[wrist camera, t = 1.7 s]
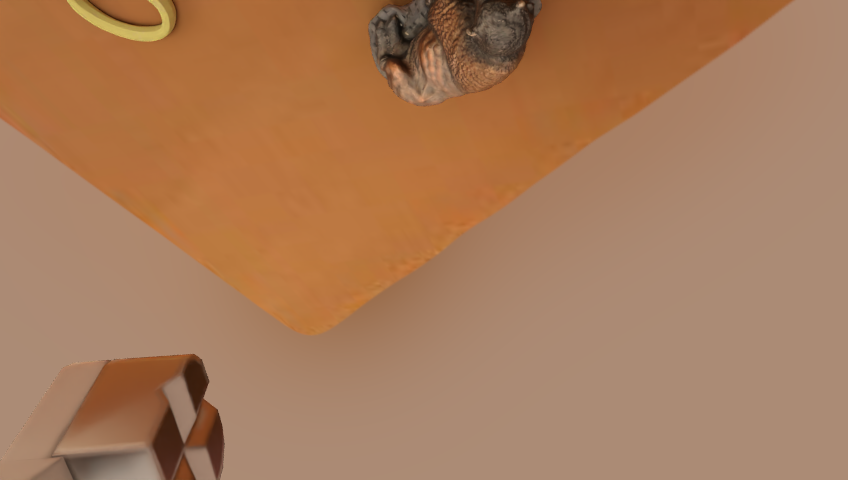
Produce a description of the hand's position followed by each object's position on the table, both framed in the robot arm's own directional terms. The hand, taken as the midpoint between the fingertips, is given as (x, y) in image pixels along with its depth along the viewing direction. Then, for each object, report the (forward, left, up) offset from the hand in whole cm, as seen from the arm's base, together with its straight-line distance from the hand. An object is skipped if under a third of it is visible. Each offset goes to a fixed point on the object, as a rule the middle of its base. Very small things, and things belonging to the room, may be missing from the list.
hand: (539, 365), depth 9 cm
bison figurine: (+12, +2, -40) cm, 41 cm away
